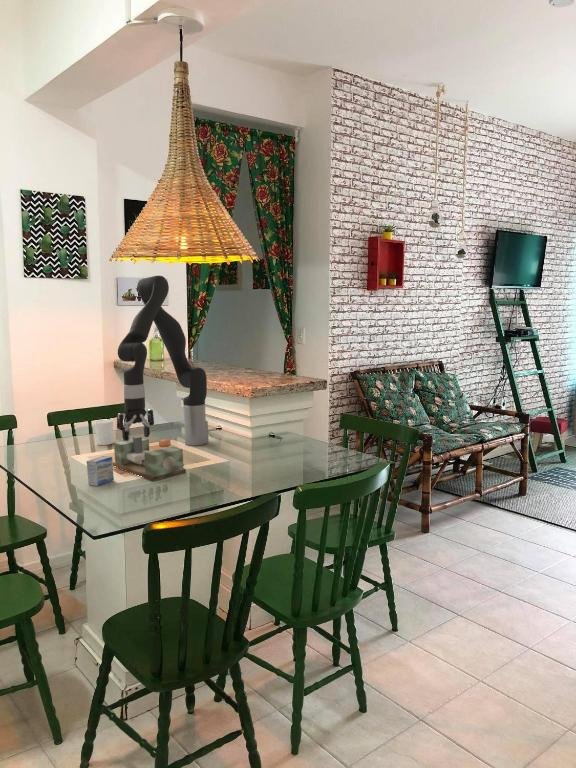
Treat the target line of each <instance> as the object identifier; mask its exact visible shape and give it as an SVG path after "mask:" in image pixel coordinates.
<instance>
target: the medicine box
mask: <svg viewBox="0 0 576 768" xmlns="http://www.w3.org/2000/svg"><path fill="white" fill-rule="evenodd" d="M86 471H87V472H86V473H87V482H88V483H87V484H88V485H89V486H94V487H99V486H102V485H105V484H107V483H110V481H111V482H113V481H114V480H115V478H114V467H113V457H112V456H109V455H101V456H99V457H95V458H92V459H89V460H86ZM112 480H113V481H112Z"/></svg>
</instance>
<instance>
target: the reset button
mask: <svg viewBox="0 0 576 768" xmlns="http://www.w3.org/2000/svg"><path fill="white" fill-rule="evenodd" d="M158 447H160V448H169V447H172V445H171V439H169V438H164V439H163V438H162V439H159V440H158Z"/></svg>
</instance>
